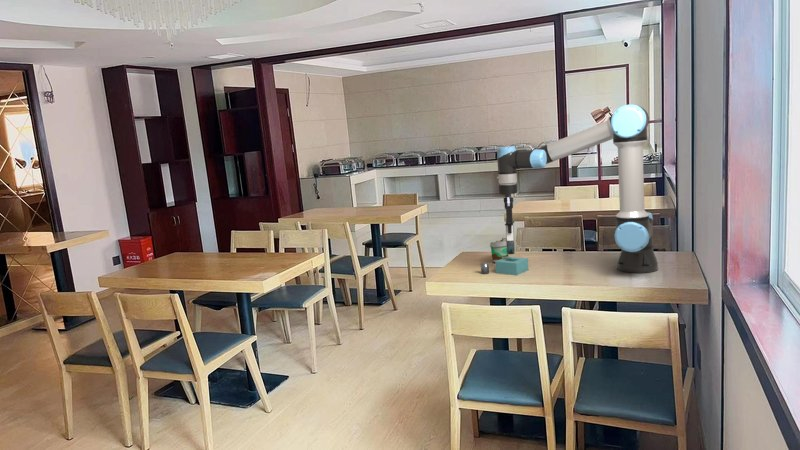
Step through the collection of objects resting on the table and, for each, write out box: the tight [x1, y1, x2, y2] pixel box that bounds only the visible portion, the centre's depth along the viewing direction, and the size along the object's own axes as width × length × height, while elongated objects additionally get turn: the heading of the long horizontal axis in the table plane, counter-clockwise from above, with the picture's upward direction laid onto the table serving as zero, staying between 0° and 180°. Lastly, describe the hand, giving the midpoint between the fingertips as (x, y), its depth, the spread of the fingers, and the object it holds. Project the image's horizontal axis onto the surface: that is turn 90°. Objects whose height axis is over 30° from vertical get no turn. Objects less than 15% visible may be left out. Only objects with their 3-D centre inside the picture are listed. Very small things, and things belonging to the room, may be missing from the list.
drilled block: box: [494, 256, 530, 276], centre depth 236 cm, size 10×10×5 cm
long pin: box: [505, 217, 516, 255], centre depth 234 cm, size 3×3×15 cm
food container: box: [489, 237, 509, 264], centre depth 255 cm, size 12×6×10 cm, turn 143°
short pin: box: [480, 261, 490, 275], centre depth 237 cm, size 3×3×4 cm
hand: (510, 239), depth 235 cm, fingers closed on long pin, 3 cm apart
